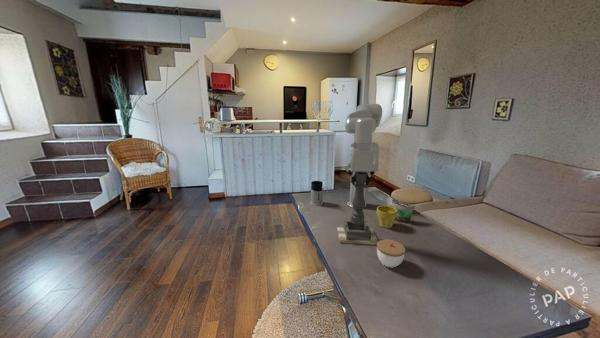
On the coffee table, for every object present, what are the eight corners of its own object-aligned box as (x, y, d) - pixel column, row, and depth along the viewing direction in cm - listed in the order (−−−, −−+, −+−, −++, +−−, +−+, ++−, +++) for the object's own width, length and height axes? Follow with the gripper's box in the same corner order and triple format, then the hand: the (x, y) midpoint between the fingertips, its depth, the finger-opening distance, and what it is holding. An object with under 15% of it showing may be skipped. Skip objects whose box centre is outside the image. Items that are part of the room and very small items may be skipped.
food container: (390, 221, 130) (391, 205, 127) (390, 217, 135) (392, 201, 133) (414, 225, 125) (416, 208, 123) (413, 220, 131) (415, 204, 128)
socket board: (337, 229, 121) (337, 219, 119) (371, 230, 120) (372, 221, 118) (339, 242, 108) (340, 232, 107) (378, 244, 107) (379, 234, 106)
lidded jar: (404, 274, 87) (407, 253, 85) (375, 268, 91) (377, 247, 88) (402, 258, 97) (404, 238, 95) (376, 253, 100) (377, 233, 98)
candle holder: (364, 220, 114) (368, 171, 108) (363, 225, 108) (367, 175, 102) (351, 218, 116) (354, 170, 110) (350, 223, 110) (353, 173, 104)
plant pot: (374, 220, 131) (375, 204, 129) (393, 222, 129) (395, 206, 127) (376, 229, 121) (378, 212, 119) (397, 231, 119) (399, 213, 117)
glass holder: (316, 199, 162) (316, 179, 158) (331, 205, 152) (332, 184, 148) (307, 203, 156) (307, 182, 152) (322, 209, 146) (323, 187, 142)
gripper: (344, 147, 100) (342, 186, 104) (384, 147, 99) (380, 187, 103) (342, 145, 107) (340, 181, 111) (379, 145, 106) (376, 182, 110)
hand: (360, 184), depth 107 cm, fingers closed on candle holder, 5 cm apart
